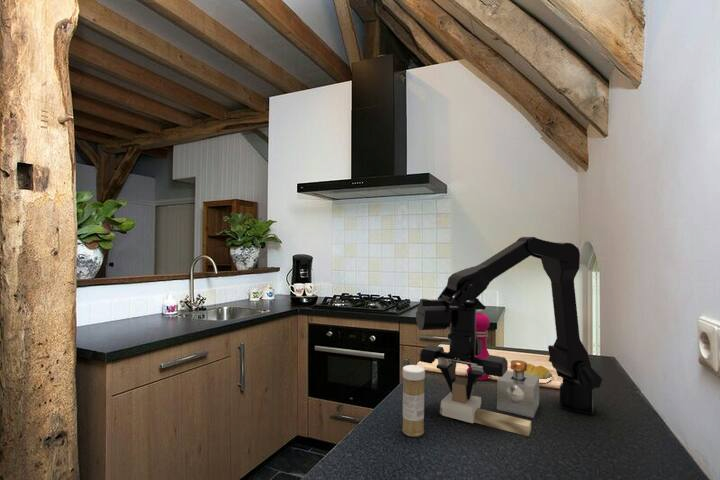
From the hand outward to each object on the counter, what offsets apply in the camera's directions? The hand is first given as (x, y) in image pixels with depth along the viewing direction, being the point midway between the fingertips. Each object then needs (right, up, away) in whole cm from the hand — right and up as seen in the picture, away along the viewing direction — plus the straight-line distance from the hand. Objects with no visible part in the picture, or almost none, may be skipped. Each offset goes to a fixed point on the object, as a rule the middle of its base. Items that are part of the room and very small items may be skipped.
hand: (461, 397), depth 90 cm
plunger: (+15, 0, +5) cm, 16 cm away
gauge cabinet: (+15, -4, +5) cm, 16 cm away
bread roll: (+28, -5, +25) cm, 38 cm away
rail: (+4, -4, -3) cm, 7 cm away
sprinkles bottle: (-12, -4, -8) cm, 15 cm away
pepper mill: (+11, -4, +26) cm, 29 cm away
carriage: (0, -4, 0) cm, 4 cm away
